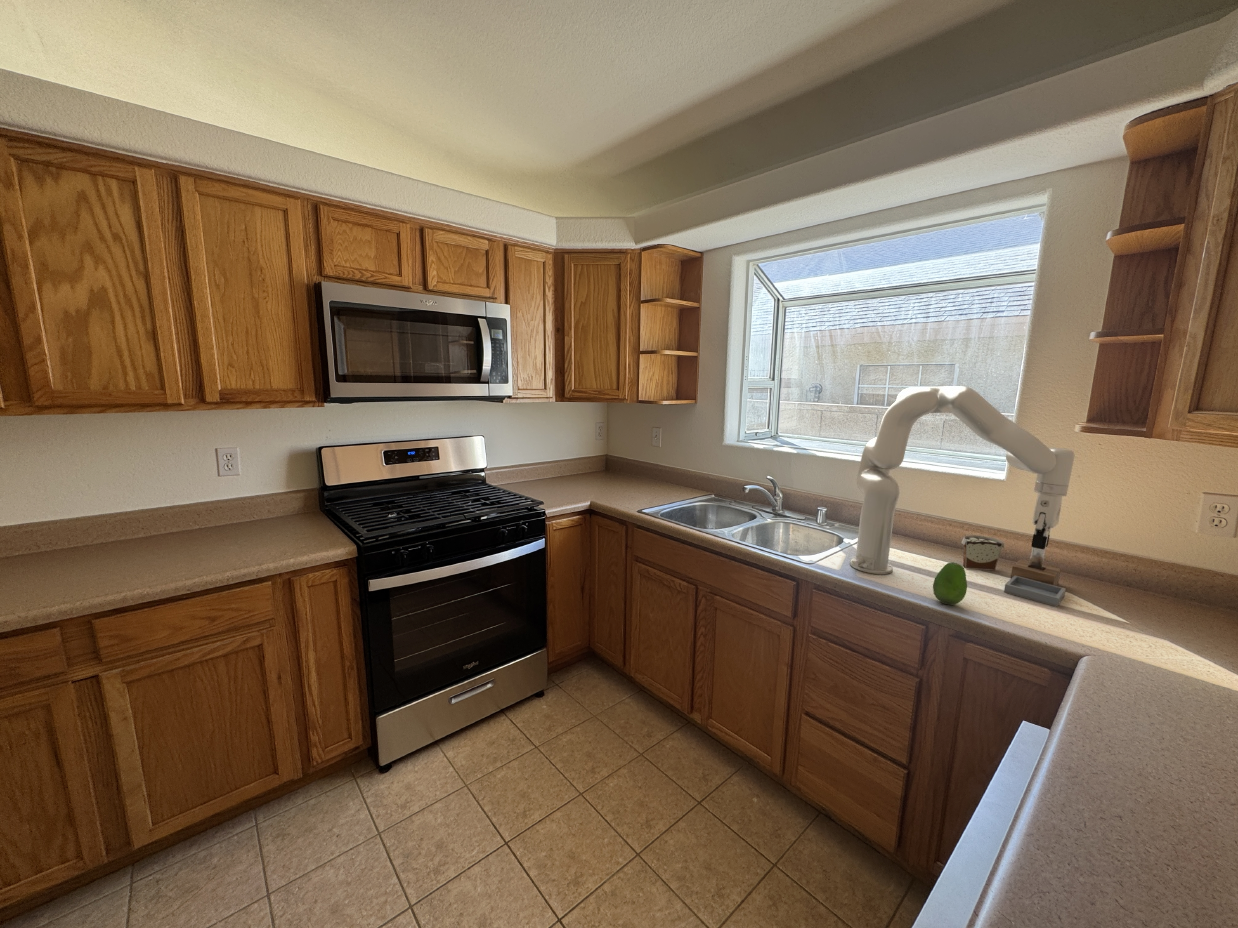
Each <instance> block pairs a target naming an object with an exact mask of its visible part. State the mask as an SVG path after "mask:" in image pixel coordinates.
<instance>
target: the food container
mask: <svg viewBox="0 0 1238 928" xmlns="http://www.w3.org/2000/svg"><path fill="white" fill-rule="evenodd" d="M961 544H962V545H963V555H962V556H963V558H962V566H963V568H964V569H969V570H981V571H982V570H985V571H996V568H997V566H998V562H999V558H1000V555H1001V553H1002V552H1001V551H1002V548H1004V547H1005V543H1004V541H1003V540H1000V539H998V538H995V537H994V538H993V537H990V536H984V535H977V534H976V535H975V534H974V535H973V534H969V535H968V534H967V535H965V536H963V538H962V541H961Z"/></svg>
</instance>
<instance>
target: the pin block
mask: <svg viewBox="0 0 1238 928" xmlns="http://www.w3.org/2000/svg"><path fill="white" fill-rule="evenodd" d="M1029 563H1030V560H1026V559H1022V558H1020V559H1019V560H1017V561H1016V563H1015V564H1013V565H1012V568H1011V572H1010V573H1011V575H1010V579H1011V578H1012V577H1013V576H1014V575H1015V576H1019V577H1023V578H1027V579H1031V580H1035V581H1039V582H1042V583H1046V584H1050V585H1054V586H1059V583H1060V582H1059V580H1060V576H1061V571H1062V568H1060V567H1056V566H1052V565H1048V564H1043V563H1042V568H1041V569H1035V568H1032V567H1029Z"/></svg>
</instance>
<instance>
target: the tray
mask: <svg viewBox="0 0 1238 928" xmlns="http://www.w3.org/2000/svg"><path fill="white" fill-rule="evenodd" d="M1066 590H1067V588H1066V587H1061V586H1059V585H1057V586H1054V585H1050V584H1046V583H1042V582H1039V581H1035V580H1031V579H1027V578H1023V577H1019V576H1015V575H1014V576H1013V577H1012V578H1011V577H1010V579H1009V580H1008V581H1007V582H1006V583H1005V584H1004V589H1003V593H1006V594H1010V595H1011V596H1012V595H1013V596H1017V597H1020V598H1023V599H1027V600H1031V601H1035V602H1037V603H1040V604H1041V603H1042V604H1045V605H1048V606H1052V607H1056V608H1057V607H1058V606H1059V605H1060V603H1061V602H1062V600H1063V599H1064V598H1065V595H1066Z"/></svg>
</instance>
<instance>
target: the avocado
mask: <svg viewBox="0 0 1238 928" xmlns="http://www.w3.org/2000/svg"><path fill="white" fill-rule="evenodd" d="M967 589H968V582H967V575H966V570H965V568H964V567H963V565H961V564H959V563H957V562H948V563H945V564H944V565H943V567H942V568H941V570H939V572H937V574H936V576H935V578H934V579H933V583H932V590H933V595H934V597H935V598H936V600H937V601H939V602H941V603H942V604H945V605H957V604H959V603H961V601H963V599H964V598H965V596H966V595H967V591H968V590H967Z"/></svg>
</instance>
